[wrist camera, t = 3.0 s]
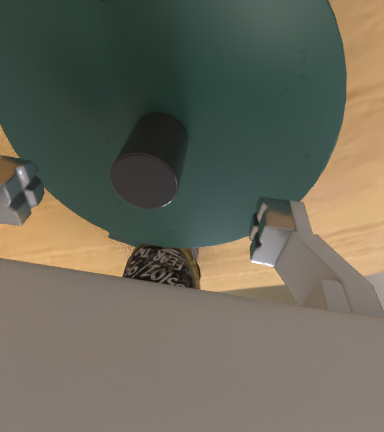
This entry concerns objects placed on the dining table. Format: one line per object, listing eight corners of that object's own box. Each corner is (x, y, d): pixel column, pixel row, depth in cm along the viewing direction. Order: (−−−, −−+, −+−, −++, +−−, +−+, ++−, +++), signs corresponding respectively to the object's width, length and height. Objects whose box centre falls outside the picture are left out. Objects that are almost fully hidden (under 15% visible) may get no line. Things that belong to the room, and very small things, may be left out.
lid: (10, 184, 18) (-43, 239, 14) (-26, -256, 7) (-261, -446, 4) (232, 261, 20) (232, 322, 17) (436, 27, 10) (540, 65, 7)
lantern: (157, 206, 28) (24, 658, 10) (221, 241, 31) (204, 651, 13) (123, 248, 34) (-5, 594, 15) (180, 275, 36) (126, 598, 18)
